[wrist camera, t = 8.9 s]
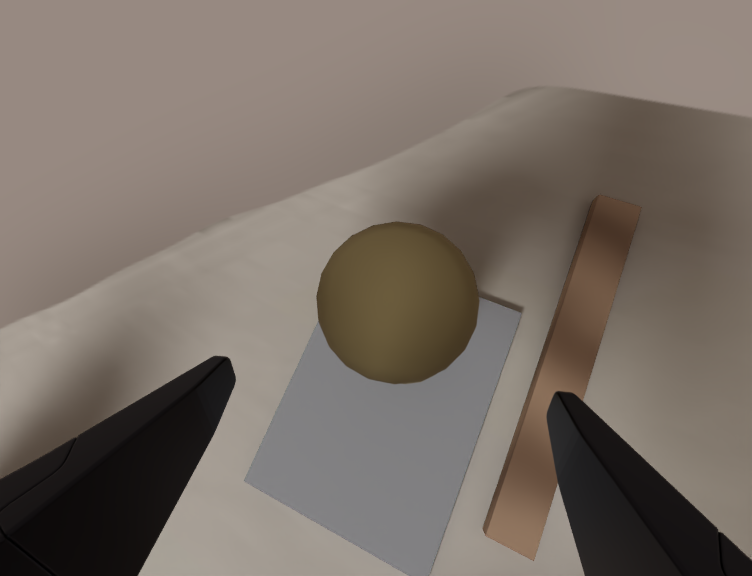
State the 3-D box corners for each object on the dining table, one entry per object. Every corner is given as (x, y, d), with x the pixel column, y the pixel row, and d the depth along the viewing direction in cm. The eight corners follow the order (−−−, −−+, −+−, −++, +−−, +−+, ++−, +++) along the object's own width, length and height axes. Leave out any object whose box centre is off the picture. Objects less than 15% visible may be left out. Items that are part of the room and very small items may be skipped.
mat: (425, 580, 17) (425, 585, 17) (247, 478, 19) (243, 480, 19) (519, 314, 20) (521, 313, 19) (353, 250, 22) (352, 248, 22)
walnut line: (528, 552, 17) (533, 561, 16) (482, 528, 17) (485, 535, 17) (633, 213, 20) (641, 207, 20) (592, 201, 21) (599, 194, 20)
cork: (356, 282, 21) (297, 194, 10) (455, 282, 20) (499, 187, 10) (352, 382, 20) (278, 399, 9) (457, 386, 19) (513, 409, 8)
